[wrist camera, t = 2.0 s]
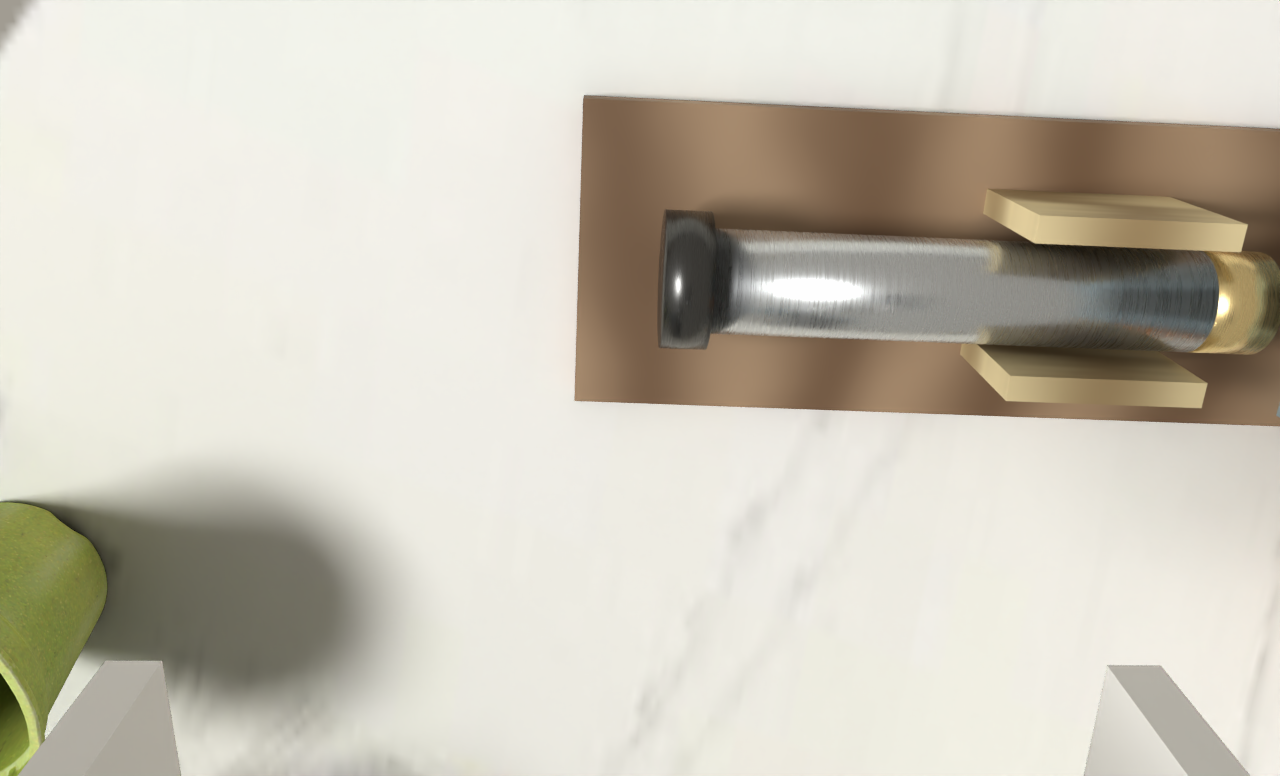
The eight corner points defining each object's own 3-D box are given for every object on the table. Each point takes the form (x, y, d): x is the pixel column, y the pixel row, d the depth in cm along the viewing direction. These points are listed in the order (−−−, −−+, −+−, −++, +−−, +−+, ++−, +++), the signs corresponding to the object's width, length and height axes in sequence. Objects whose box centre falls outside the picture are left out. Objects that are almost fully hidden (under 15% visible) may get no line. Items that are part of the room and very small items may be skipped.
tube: (655, 324, 34) (661, 367, 31) (662, 197, 33) (669, 224, 29) (1200, 346, 35) (1273, 390, 31) (1230, 222, 34) (1312, 252, 30)
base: (575, 390, 37) (566, 491, 29) (584, 95, 33) (576, 123, 26) (1404, 420, 38) (1600, 525, 30) (1496, 139, 34) (1743, 178, 27)
